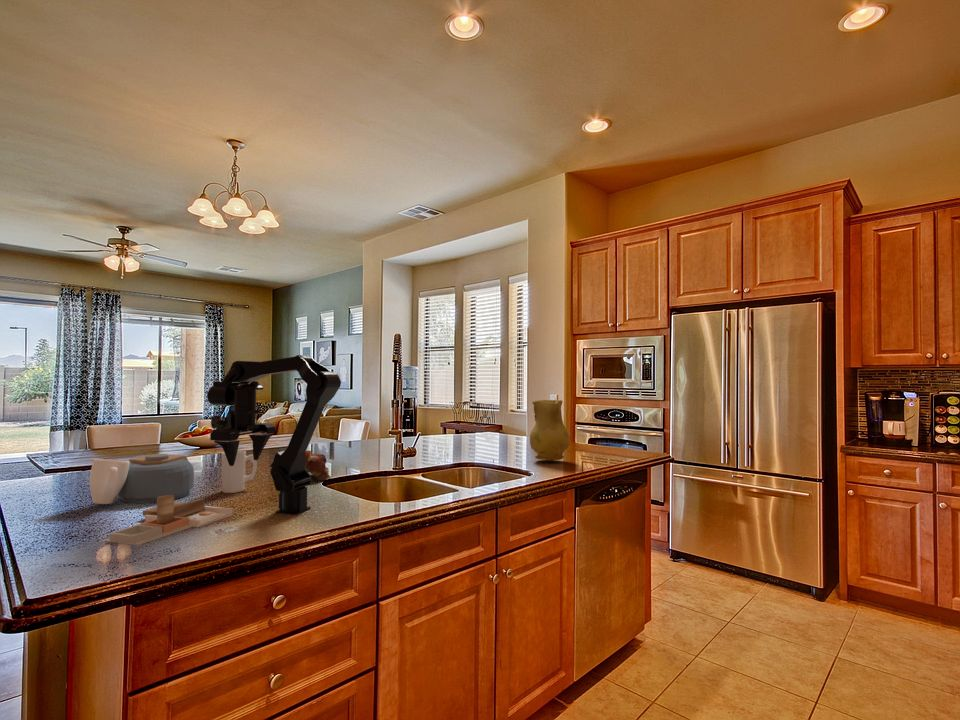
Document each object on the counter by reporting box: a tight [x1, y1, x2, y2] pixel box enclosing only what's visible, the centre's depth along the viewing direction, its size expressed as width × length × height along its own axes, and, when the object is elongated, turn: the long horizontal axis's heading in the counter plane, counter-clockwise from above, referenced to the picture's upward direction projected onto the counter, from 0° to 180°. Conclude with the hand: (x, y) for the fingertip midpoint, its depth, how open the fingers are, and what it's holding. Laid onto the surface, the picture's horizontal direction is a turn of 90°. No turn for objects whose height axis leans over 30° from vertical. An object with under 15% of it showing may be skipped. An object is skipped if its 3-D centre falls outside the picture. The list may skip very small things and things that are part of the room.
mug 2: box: [221, 449, 258, 494], centre depth 157 cm, size 10×7×12 cm, turn 119°
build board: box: [104, 516, 194, 546], centre depth 113 cm, size 9×14×2 cm, turn 164°
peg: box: [156, 495, 175, 525], centre depth 117 cm, size 3×3×7 cm
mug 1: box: [88, 458, 130, 505], centre depth 136 cm, size 12×8×11 cm
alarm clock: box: [117, 453, 195, 504], centre depth 149 cm, size 19×20×12 cm
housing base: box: [144, 505, 234, 528], centre depth 126 cm, size 16×11×2 cm
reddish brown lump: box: [305, 450, 333, 481], centre depth 176 cm, size 16×13×10 cm
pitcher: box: [529, 399, 570, 461], centre depth 219 cm, size 17×19×25 cm
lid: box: [142, 497, 206, 517], centre depth 127 cm, size 10×9×3 cm
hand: (244, 462), depth 139 cm, fingers open, 9 cm apart
